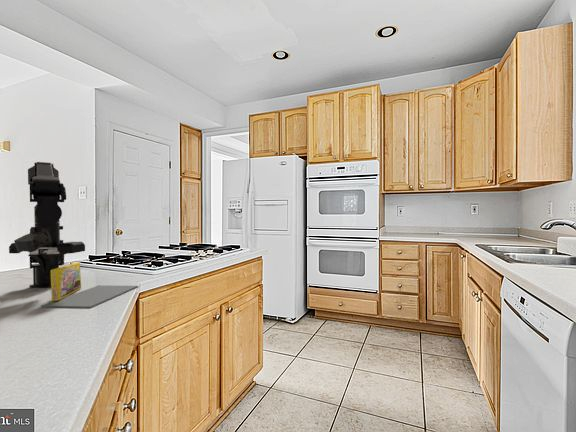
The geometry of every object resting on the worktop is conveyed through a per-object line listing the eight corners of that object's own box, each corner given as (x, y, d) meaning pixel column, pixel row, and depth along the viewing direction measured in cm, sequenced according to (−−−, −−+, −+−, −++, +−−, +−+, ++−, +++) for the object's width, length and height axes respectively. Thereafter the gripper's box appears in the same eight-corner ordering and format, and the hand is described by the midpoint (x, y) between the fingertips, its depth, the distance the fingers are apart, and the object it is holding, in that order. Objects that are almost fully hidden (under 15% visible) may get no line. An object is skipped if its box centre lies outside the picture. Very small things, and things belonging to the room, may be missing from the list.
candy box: (60, 300, 85) (57, 269, 85) (51, 302, 85) (48, 270, 84) (82, 288, 101) (80, 261, 101) (74, 289, 100) (72, 262, 100)
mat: (41, 307, 82) (41, 305, 82) (98, 286, 104) (98, 285, 104) (90, 308, 81) (90, 306, 81) (138, 287, 103) (138, 285, 103)
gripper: (-12, 224, 85) (-10, 283, 86) (55, 224, 84) (56, 284, 84) (26, 222, 97) (27, 275, 97) (85, 222, 95) (86, 275, 95)
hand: (48, 277), depth 93 cm, fingers closed
